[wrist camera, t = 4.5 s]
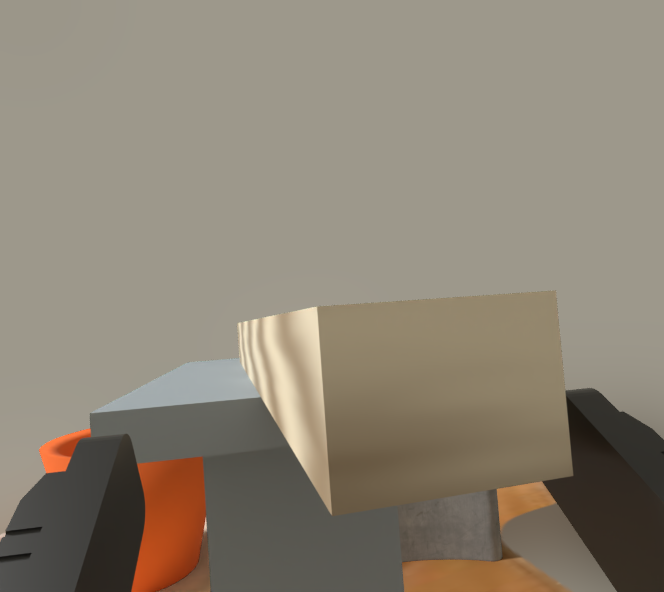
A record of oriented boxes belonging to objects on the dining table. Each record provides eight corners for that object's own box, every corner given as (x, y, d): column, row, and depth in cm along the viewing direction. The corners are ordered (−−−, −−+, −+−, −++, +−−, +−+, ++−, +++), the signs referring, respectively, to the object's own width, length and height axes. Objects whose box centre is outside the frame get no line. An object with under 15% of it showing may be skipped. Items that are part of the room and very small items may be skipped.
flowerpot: (134, 639, 56) (125, 464, 57) (5, 597, 67) (-1, 452, 68) (261, 543, 78) (253, 418, 79) (148, 523, 90) (142, 414, 91)
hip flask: (388, 562, 69) (377, 419, 70) (388, 548, 73) (378, 413, 74) (504, 561, 67) (491, 414, 68) (498, 547, 71) (486, 408, 72)
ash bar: (573, 476, 8) (555, 290, 8) (332, 516, 7) (316, 306, 7) (290, 357, 39) (288, 319, 39) (239, 361, 38) (237, 323, 38)
